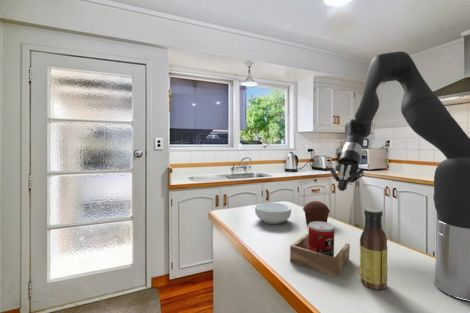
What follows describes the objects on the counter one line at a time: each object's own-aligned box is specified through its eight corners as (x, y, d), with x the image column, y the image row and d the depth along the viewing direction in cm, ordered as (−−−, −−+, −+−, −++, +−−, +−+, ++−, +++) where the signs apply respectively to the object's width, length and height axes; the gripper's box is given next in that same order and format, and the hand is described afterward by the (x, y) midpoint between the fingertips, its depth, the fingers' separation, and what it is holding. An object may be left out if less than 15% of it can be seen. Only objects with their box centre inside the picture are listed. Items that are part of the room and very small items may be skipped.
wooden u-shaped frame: (306, 247, 85) (306, 233, 85) (349, 259, 76) (349, 244, 76) (290, 261, 75) (290, 245, 75) (336, 277, 66) (337, 259, 66)
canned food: (318, 267, 72) (319, 230, 71) (303, 255, 79) (303, 222, 79) (339, 263, 74) (340, 228, 73) (322, 251, 81) (323, 220, 81)
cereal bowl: (294, 227, 105) (294, 211, 104) (256, 227, 105) (256, 211, 105) (287, 216, 122) (287, 202, 121) (254, 215, 122) (254, 202, 121)
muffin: (318, 218, 117) (318, 198, 116) (335, 226, 107) (335, 203, 106) (297, 221, 113) (297, 200, 112) (313, 229, 102) (313, 206, 102)
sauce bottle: (377, 277, 66) (379, 206, 65) (392, 291, 60) (395, 212, 59) (353, 277, 66) (355, 206, 65) (367, 291, 60) (369, 213, 59)
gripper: (331, 149, 101) (321, 181, 92) (367, 149, 92) (359, 185, 83) (335, 161, 105) (325, 193, 96) (369, 162, 97) (362, 197, 88)
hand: (341, 189), depth 90 cm, fingers closed
